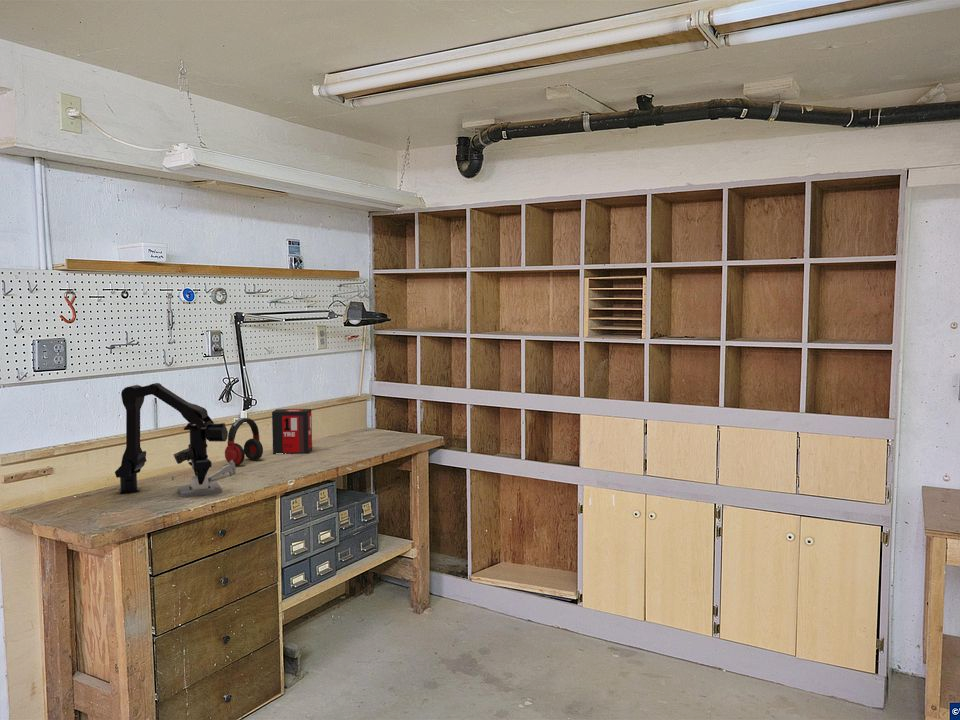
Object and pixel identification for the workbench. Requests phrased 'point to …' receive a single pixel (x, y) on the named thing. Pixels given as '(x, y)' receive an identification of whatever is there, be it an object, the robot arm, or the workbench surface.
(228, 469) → the caliper
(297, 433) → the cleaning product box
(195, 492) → the socket
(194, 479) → the plug
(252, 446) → the headphones
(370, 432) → the workbench surface
